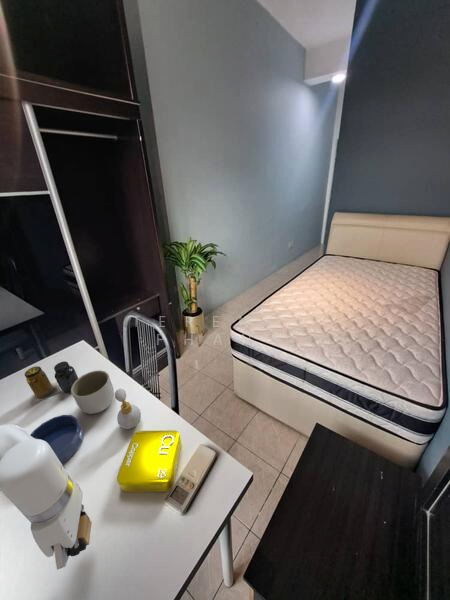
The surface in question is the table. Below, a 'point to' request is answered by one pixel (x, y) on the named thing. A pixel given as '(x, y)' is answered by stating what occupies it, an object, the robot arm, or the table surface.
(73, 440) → the bowl
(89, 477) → the table surface
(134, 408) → the perfume bottle
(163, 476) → the element tile
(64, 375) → the supplement bottle
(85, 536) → the block
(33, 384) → the condiment
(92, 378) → the planter
